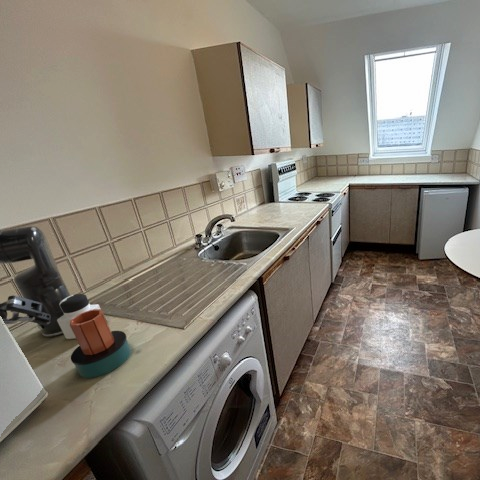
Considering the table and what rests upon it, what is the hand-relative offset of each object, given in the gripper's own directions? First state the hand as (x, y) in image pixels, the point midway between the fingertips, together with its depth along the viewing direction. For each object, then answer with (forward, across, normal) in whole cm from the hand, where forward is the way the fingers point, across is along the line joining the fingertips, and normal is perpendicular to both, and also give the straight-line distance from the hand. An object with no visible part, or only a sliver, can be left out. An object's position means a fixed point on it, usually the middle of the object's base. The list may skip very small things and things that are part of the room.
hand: (27, 329), depth 57 cm
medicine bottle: (+26, +7, -9) cm, 28 cm away
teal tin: (+18, -4, +6) cm, 19 cm away
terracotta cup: (+14, -5, +3) cm, 15 cm away
